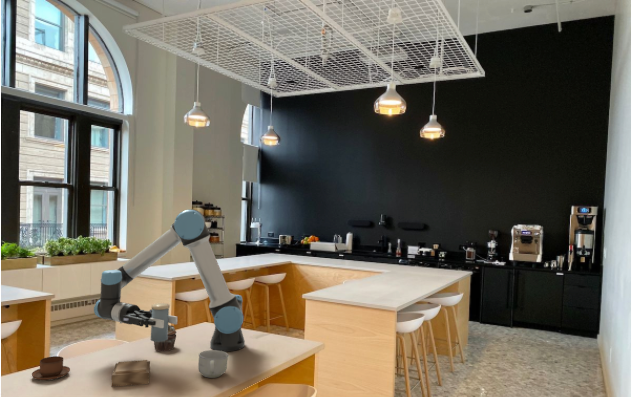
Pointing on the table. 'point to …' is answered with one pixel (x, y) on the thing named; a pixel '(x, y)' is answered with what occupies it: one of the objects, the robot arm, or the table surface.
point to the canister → (160, 313)
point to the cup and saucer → (51, 369)
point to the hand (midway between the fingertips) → (169, 322)
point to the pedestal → (131, 373)
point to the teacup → (212, 363)
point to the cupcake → (169, 342)
